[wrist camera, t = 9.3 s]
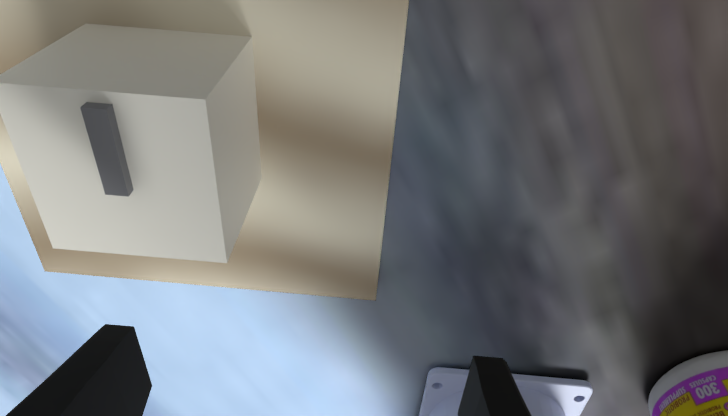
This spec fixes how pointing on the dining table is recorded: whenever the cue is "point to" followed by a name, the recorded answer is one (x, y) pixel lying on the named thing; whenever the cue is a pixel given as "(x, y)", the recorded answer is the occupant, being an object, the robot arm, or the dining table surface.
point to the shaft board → (263, 136)
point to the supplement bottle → (693, 388)
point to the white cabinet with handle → (138, 139)
